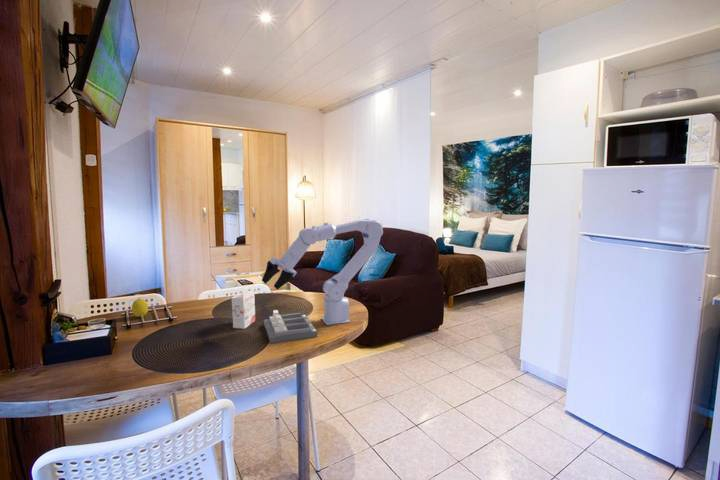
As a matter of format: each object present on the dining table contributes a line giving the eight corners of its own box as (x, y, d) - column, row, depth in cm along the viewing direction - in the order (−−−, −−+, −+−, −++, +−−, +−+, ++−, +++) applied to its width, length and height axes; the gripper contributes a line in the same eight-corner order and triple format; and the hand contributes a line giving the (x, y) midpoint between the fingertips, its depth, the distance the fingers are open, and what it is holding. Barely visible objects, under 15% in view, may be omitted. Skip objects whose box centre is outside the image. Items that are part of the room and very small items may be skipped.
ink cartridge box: (244, 320, 139) (242, 283, 137) (255, 321, 138) (254, 284, 136) (232, 328, 130) (230, 289, 128) (244, 329, 129) (243, 290, 127)
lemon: (151, 316, 141) (150, 297, 140) (136, 321, 137) (135, 301, 135) (144, 314, 144) (143, 295, 143) (129, 318, 139) (128, 298, 138)
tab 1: (280, 318, 134) (280, 309, 134) (282, 322, 131) (282, 312, 130) (269, 320, 133) (269, 310, 132) (271, 323, 129) (271, 313, 129)
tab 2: (283, 323, 129) (282, 313, 129) (284, 327, 126) (284, 317, 125) (271, 325, 128) (271, 315, 127) (273, 329, 124) (273, 318, 124)
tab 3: (285, 329, 124) (285, 318, 124) (287, 333, 120) (287, 322, 120) (274, 330, 123) (273, 320, 122) (275, 334, 119) (275, 324, 118)
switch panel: (305, 319, 140) (305, 311, 139) (317, 336, 123) (317, 327, 123) (264, 324, 134) (263, 316, 133) (270, 343, 117) (270, 334, 117)
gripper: (296, 257, 138) (274, 284, 137) (275, 242, 126) (251, 273, 124) (307, 266, 135) (285, 294, 133) (287, 252, 122) (262, 283, 121)
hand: (269, 285), depth 128 cm, fingers open, 7 cm apart
